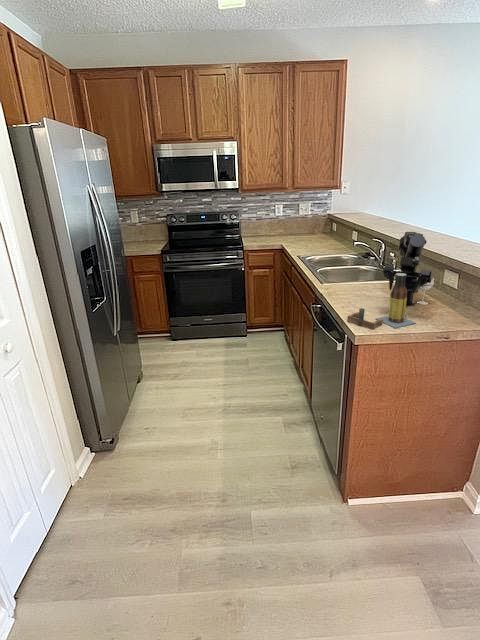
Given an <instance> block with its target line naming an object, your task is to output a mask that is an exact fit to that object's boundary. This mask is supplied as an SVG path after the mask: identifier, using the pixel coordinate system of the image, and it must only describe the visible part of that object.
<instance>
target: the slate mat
mask: <svg viewBox="0 0 480 640" xmlns="http://www.w3.org/2000/svg"><path fill="white" fill-rule="evenodd" d="M379 319H383V324H384V325H387V326H389V327H390V328H393V329H399V328H404V327H408V326H412V325H416V324H417V322H415V321H413V320H411V319H408V318H406V317H404V321H403V322H392V321H390V320H389V315H385V316H381V317H376V318H375V321H377V320H379Z"/></svg>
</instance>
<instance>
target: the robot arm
mask: <svg viewBox="0 0 480 640" xmlns="http://www.w3.org/2000/svg"><path fill="white" fill-rule="evenodd" d="M426 244H427V240H426V238H425V236H424V234H423V233H419V232H416V231H406V232H404V235H403V236H401V238H399V242H398V247H397V248H398V249H397V251H399V255H400V256H401V259H400V262H399V269H395V266H393V265H385V266H383V269H382V272H383V277H384V278H386V279H387V280H388V283H389V285H388V286H389V291H392V290H393V286H394V283H395V274H397V273H404V274H406V279H405V287H406V288H407V301H406V307H409V306H413V305H415V304H416V303H415V302H413V301H414V294H417V293H418V292H419V289H420V287H421V286H422V285H424V284H427V283H431V280H432V277H433V271H432V270H429V269H428V270H427V269H421V270H420V272H417V268H418V266H419V265H420V263H421V255H422V252H423V250H424V247H425V245H426Z"/></svg>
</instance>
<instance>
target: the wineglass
mask: <svg viewBox="0 0 480 640" xmlns="http://www.w3.org/2000/svg"><path fill="white" fill-rule="evenodd" d="M434 280H435V278H434V277H433V276H432V280H431V283H427V284H424V285H422V286H421V287H420V288H421V289H422V291H423V293H422V299H421V300H420V301H417V302H416V303H417V304H419V305H425V306H426V305H428V304H429V303H428V302H427V301H424V299H425V294H426V291H427V290H428V289H431V288H432V287H433V286H434V285H435V282H434ZM420 288H419V289H420Z"/></svg>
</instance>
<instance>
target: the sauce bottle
mask: <svg viewBox="0 0 480 640" xmlns="http://www.w3.org/2000/svg"><path fill="white" fill-rule="evenodd" d="M405 279H406V274H404V273H397V274H395V276H394V284H393V286H392V289H391V291H390V297H389V305H388V306H389V307H388V316H389V320H390V321H392V322H403V321H404V318H406V309H407V308H406V307H407V306H406V301H407V288H406V287H405Z"/></svg>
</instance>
